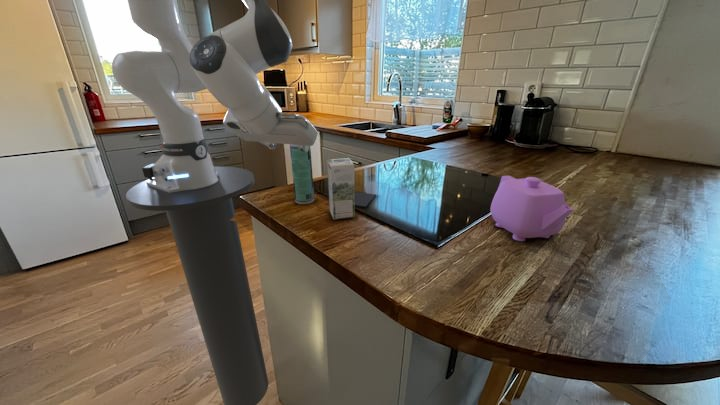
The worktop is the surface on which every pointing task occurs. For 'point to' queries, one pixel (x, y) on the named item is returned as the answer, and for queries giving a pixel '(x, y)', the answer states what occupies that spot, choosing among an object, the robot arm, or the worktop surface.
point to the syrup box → (341, 188)
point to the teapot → (529, 208)
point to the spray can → (302, 175)
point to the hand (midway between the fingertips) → (289, 148)
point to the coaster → (363, 199)
